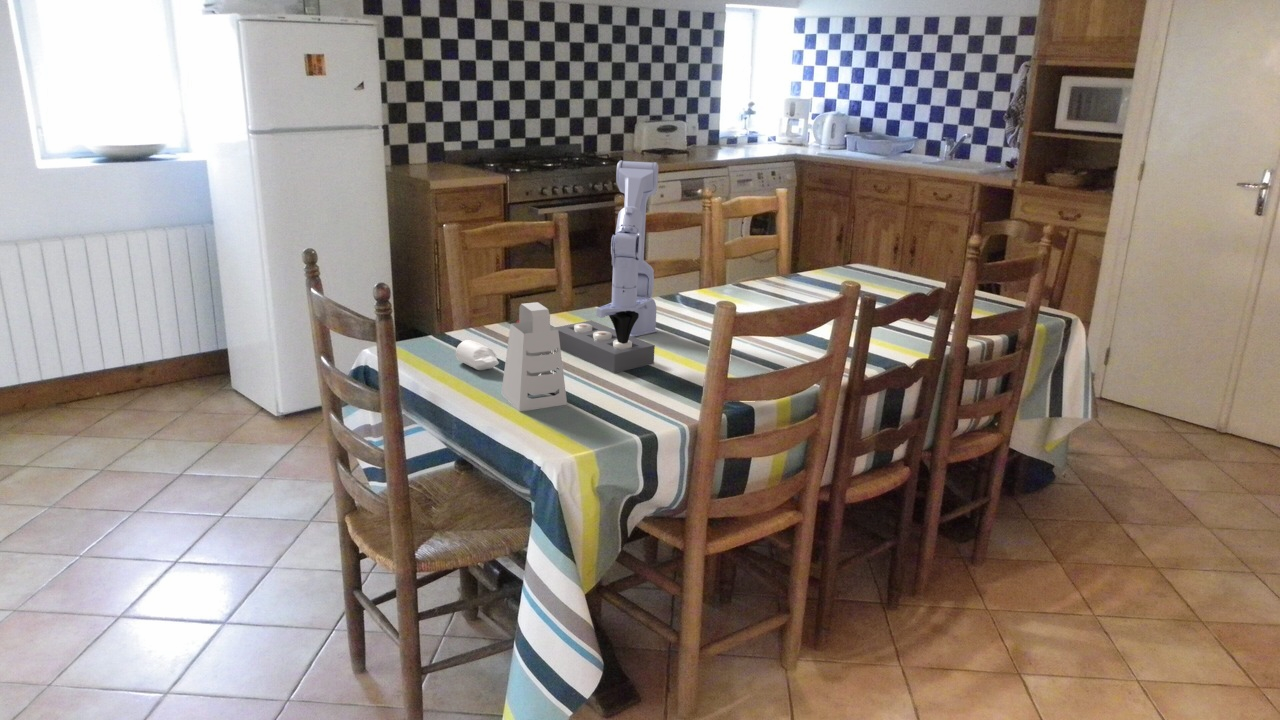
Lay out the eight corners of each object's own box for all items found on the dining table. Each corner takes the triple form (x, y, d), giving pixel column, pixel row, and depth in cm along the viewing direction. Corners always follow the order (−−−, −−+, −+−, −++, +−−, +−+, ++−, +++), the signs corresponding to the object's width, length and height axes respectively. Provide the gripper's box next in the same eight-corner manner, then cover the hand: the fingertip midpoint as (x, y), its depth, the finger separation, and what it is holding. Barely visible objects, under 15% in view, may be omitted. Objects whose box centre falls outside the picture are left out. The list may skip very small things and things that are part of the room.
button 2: (623, 350, 222) (623, 338, 221) (635, 355, 219) (635, 342, 218) (608, 353, 219) (609, 341, 218) (620, 358, 216) (621, 346, 215)
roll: (483, 379, 205) (483, 355, 204) (455, 364, 214) (454, 341, 212) (506, 374, 209) (506, 350, 207) (478, 359, 218) (477, 336, 216)
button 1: (584, 334, 232) (584, 322, 231) (595, 338, 229) (595, 326, 228) (570, 337, 230) (570, 325, 229) (581, 341, 226) (581, 329, 225)
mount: (590, 337, 237) (591, 320, 236) (653, 363, 220) (654, 345, 219) (551, 345, 230) (552, 327, 228) (614, 373, 212) (614, 354, 211)
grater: (547, 387, 202) (548, 297, 196) (567, 404, 193) (569, 310, 187) (501, 394, 197) (500, 302, 191) (519, 411, 189) (519, 315, 182)
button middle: (603, 341, 227) (603, 330, 226) (615, 346, 224) (615, 334, 223) (589, 345, 224) (589, 333, 223) (600, 349, 221) (600, 337, 220)
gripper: (611, 293, 206) (609, 352, 210) (660, 285, 215) (657, 341, 220) (591, 286, 211) (589, 344, 215) (640, 278, 220) (637, 334, 225)
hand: (622, 342), depth 218 cm, fingers closed, pressing on button 2
